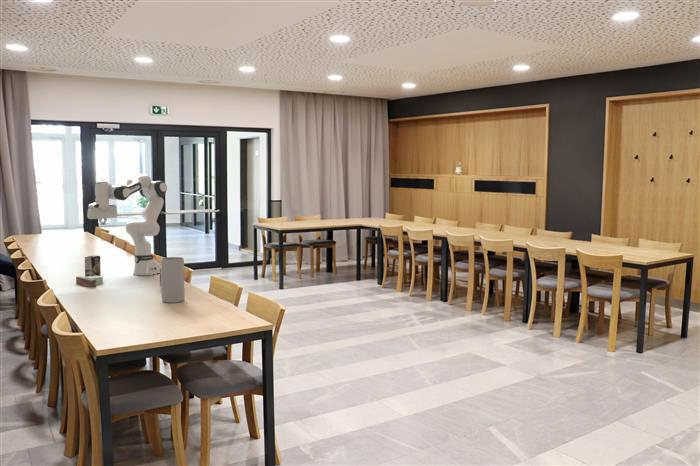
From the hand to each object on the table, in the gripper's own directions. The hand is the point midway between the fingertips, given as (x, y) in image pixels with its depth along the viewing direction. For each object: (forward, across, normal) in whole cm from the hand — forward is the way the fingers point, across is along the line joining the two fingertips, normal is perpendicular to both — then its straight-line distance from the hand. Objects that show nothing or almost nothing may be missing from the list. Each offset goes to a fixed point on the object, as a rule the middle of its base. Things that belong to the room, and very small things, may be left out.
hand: (103, 225), depth 412 cm
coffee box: (+38, +4, -8) cm, 39 cm away
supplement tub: (+38, -11, +59) cm, 71 cm away
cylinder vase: (+38, +10, +92) cm, 100 cm away
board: (+38, +18, +9) cm, 43 cm away
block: (+38, +13, +9) cm, 41 cm away
